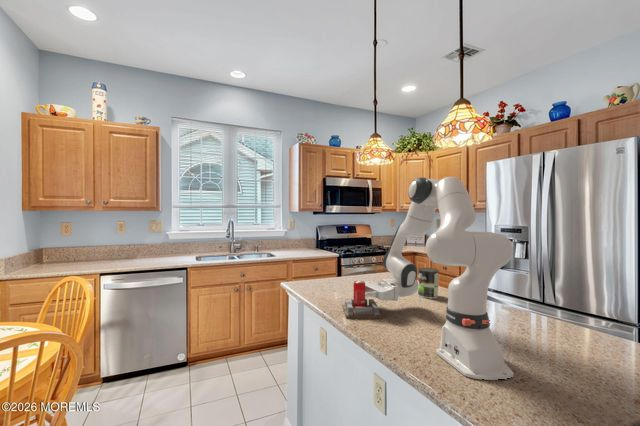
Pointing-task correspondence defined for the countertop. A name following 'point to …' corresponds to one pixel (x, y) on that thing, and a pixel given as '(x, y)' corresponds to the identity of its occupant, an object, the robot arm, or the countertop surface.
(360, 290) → the beverage can
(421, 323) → the countertop surface
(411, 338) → the countertop surface
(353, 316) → the socket block
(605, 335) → the countertop surface
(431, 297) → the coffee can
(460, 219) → the robot arm
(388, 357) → the countertop surface
